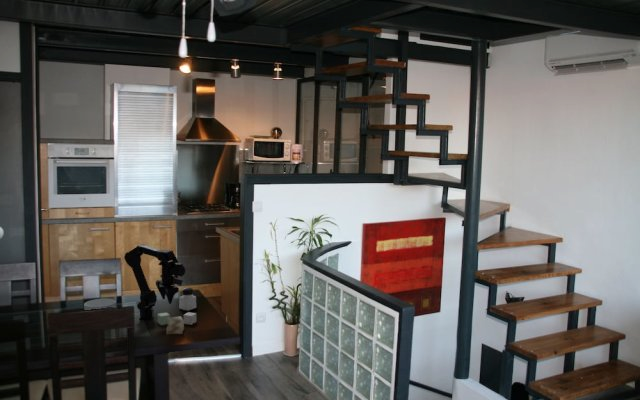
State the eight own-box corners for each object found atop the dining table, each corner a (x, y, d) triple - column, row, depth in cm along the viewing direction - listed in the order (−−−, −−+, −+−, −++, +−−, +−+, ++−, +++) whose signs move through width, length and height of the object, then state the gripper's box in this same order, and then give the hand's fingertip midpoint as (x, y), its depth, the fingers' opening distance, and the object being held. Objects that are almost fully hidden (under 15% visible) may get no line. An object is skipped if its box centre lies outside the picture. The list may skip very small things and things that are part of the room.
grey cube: (183, 323, 320) (183, 314, 320) (188, 320, 325) (188, 312, 325) (191, 324, 319) (191, 315, 318) (196, 322, 324) (196, 313, 323)
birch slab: (169, 328, 303) (169, 321, 303) (167, 324, 310) (167, 317, 309) (183, 326, 306) (183, 320, 306) (181, 322, 313) (181, 316, 312)
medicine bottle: (196, 307, 348) (196, 288, 347) (187, 310, 342) (187, 290, 341) (187, 305, 352) (187, 286, 351) (179, 308, 346) (178, 288, 345)
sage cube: (169, 323, 320) (169, 314, 320) (161, 325, 317) (161, 316, 317) (166, 321, 324) (166, 312, 324) (157, 322, 321) (157, 314, 321)
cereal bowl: (113, 308, 344) (113, 296, 344) (118, 316, 330) (117, 304, 329) (83, 312, 337) (82, 300, 336) (85, 320, 322) (85, 308, 321)
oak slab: (166, 334, 304) (166, 328, 304) (168, 329, 312) (168, 323, 311) (182, 334, 305) (182, 327, 305) (183, 329, 313) (183, 322, 312)
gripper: (188, 275, 315) (187, 303, 317) (174, 268, 330) (174, 294, 332) (168, 278, 309) (168, 307, 311) (155, 270, 324) (155, 297, 326)
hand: (166, 301), depth 320 cm, fingers open, 9 cm apart
